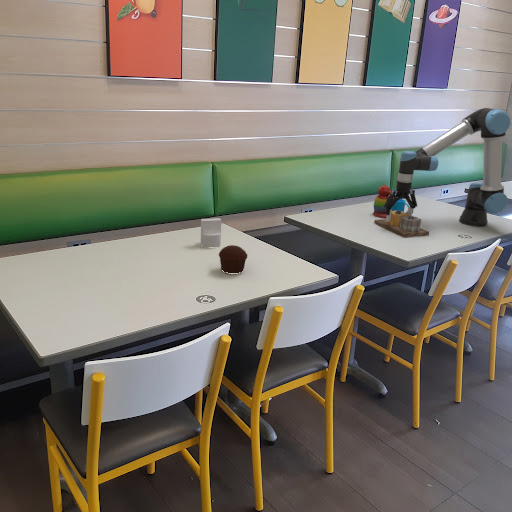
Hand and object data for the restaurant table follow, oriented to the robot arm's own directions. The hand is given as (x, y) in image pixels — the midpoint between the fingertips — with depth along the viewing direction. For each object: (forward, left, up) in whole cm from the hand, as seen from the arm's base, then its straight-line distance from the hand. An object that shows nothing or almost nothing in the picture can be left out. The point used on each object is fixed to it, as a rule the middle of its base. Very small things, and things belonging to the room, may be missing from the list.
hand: (398, 220), depth 273 cm
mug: (-20, -24, -4) cm, 32 cm away
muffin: (+108, +36, -4) cm, 114 cm away
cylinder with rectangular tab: (+107, +4, -4) cm, 107 cm away
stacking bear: (-6, -23, -4) cm, 24 cm away
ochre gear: (0, -1, -2) cm, 2 cm away
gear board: (0, +3, -4) cm, 5 cm away
